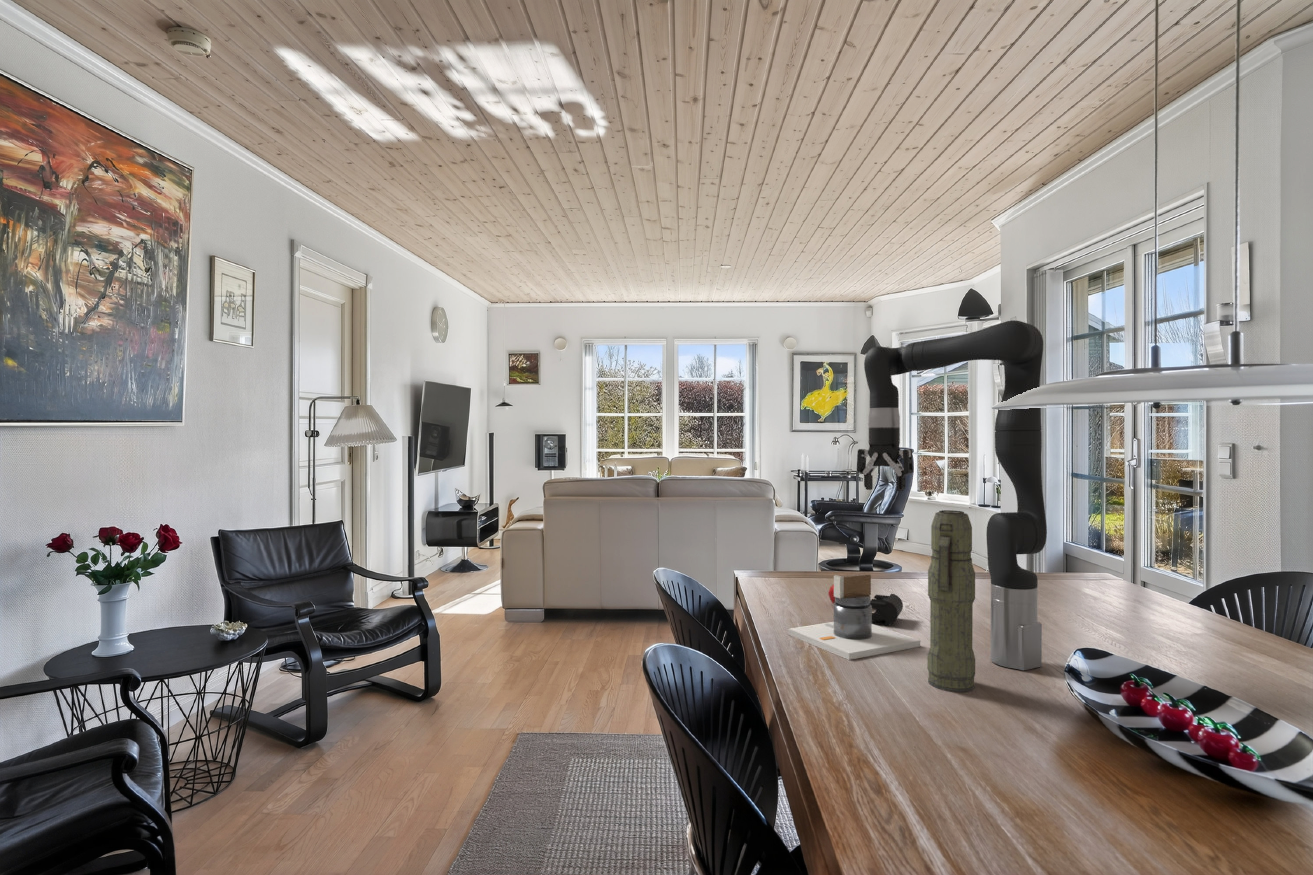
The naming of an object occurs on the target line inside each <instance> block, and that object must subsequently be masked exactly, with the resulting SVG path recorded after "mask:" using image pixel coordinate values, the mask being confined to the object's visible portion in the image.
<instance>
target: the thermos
mask: <svg viewBox="0 0 1313 875" xmlns="http://www.w3.org/2000/svg"><path fill="white" fill-rule="evenodd" d="M930 529H931V530H930V533H931V535H930V536H931V542H930V543H931V544H930V546H931V552H932V554H931V557H930V558H931V559H930V565H929V566H928V569H927V596H928V598H929V600H930V603H929V604H930V606H929V607H930V609H929V610H930V611H929V613H930V615H929V617H930V618H929V619H930V621H929V622H930V626H929V627H930V628H929V629H930V630H929V632H930V633H929V634H930V636H929V638H930V639H929V641H930V644H929V645H930V647H929V649H928V652H927V654H926V656H927V657H926V658H927V660H926V661H927V662H926V665H927V667H926V668H927V671H928V678H927V680H928V684H929V685H930V686H932V687H934V688H936V689H938V690H943V691H946V692H952V693H953V692H955V693H966V692H972V691H973V690H974V689H975V676H976V657H975V656H976V655H975V651H974V649H973V624H974V623H973V622H974V621H973V613H974V612H973V605H974V604H973V603H975V600H976V572H975V568H974V566H973V558H972V552H973V526H972V523H971V519H970V517H969V514H968V513H966V512H964V511H963V510H954V509H953V510H951V509H948V510H946V509H945V510H938V512H935V514H934V517H933V519H932V523H931V527H930Z"/></svg>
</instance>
